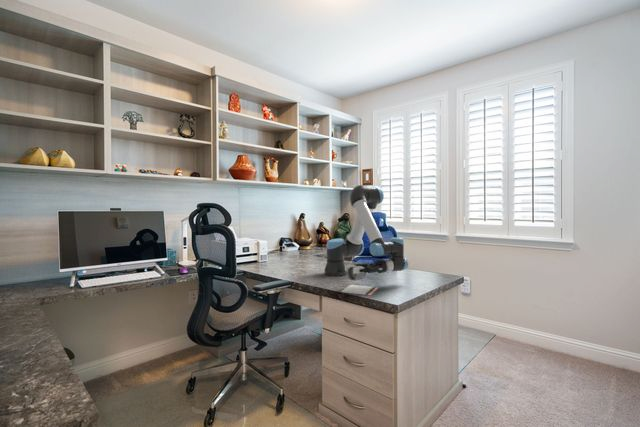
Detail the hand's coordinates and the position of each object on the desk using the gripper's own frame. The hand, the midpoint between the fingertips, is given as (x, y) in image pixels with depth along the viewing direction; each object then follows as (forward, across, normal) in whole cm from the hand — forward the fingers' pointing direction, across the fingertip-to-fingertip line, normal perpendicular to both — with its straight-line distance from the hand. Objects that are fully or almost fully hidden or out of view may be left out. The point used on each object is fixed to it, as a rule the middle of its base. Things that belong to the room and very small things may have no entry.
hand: (349, 269), depth 178 cm
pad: (-5, 0, -12) cm, 13 cm away
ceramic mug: (-4, +2, -6) cm, 8 cm away
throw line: (-11, -7, -12) cm, 17 cm away
